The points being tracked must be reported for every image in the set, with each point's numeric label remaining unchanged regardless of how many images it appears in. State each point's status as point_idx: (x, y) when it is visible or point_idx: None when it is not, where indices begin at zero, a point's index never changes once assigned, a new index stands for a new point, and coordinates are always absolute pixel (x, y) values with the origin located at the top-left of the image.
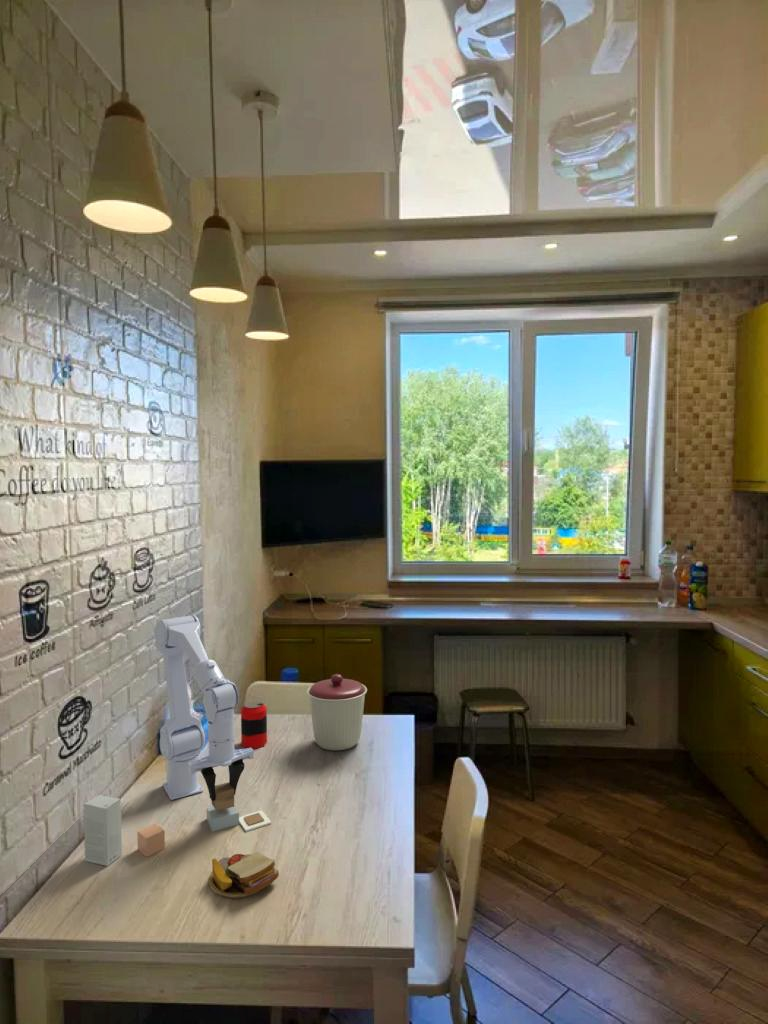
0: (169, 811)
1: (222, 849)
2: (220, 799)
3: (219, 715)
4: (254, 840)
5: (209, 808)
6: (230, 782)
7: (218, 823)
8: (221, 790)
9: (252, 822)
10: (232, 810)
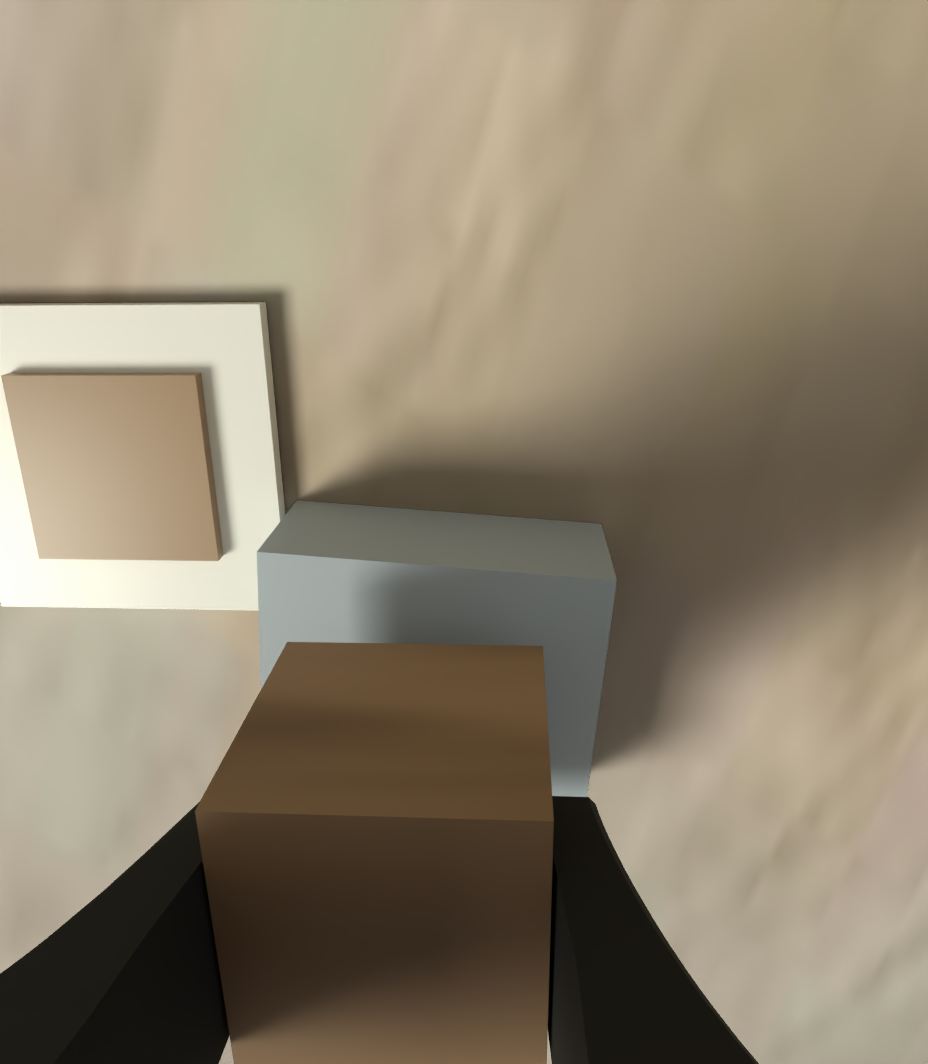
0: (820, 1053)
1: (631, 71)
2: (481, 738)
3: None
4: (212, 40)
5: None
6: (206, 1023)
7: (532, 545)
8: (427, 888)
9: (147, 399)
10: None
